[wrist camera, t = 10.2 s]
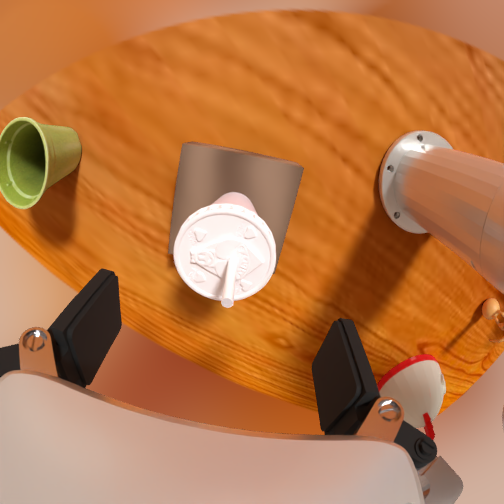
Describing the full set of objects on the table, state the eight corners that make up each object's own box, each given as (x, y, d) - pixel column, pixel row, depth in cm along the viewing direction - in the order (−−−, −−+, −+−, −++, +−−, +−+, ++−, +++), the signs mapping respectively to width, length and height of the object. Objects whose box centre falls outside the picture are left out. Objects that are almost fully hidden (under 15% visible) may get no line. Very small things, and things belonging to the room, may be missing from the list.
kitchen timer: (381, 406, 47) (399, 461, 34) (369, 378, 42) (392, 446, 29) (436, 377, 44) (461, 428, 31) (434, 342, 39) (470, 402, 26)
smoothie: (264, 245, 27) (274, 353, 14) (199, 240, 26) (157, 342, 14) (272, 180, 24) (294, 243, 11) (200, 175, 24) (143, 232, 11)
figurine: (473, 322, 38) (504, 363, 27) (465, 309, 36) (500, 353, 25) (500, 291, 35) (534, 327, 24) (494, 276, 33) (533, 314, 23)
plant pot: (103, 124, 25) (57, 128, 17) (82, 198, 28) (40, 222, 20) (51, 106, 23) (3, 110, 15) (34, 174, 27) (-9, 192, 19)
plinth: (296, 162, 27) (303, 168, 23) (271, 256, 32) (274, 274, 28) (191, 141, 26) (182, 143, 22) (177, 238, 31) (168, 253, 27)
